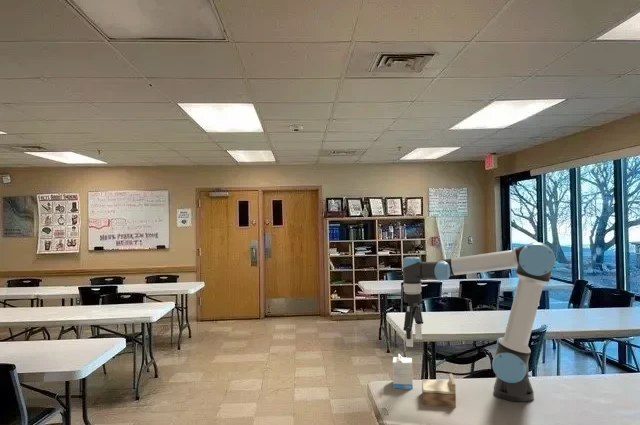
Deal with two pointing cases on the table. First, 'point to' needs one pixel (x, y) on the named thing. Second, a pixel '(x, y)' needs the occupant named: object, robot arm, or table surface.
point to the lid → (439, 386)
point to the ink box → (402, 372)
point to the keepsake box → (439, 399)
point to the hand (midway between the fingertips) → (414, 342)
